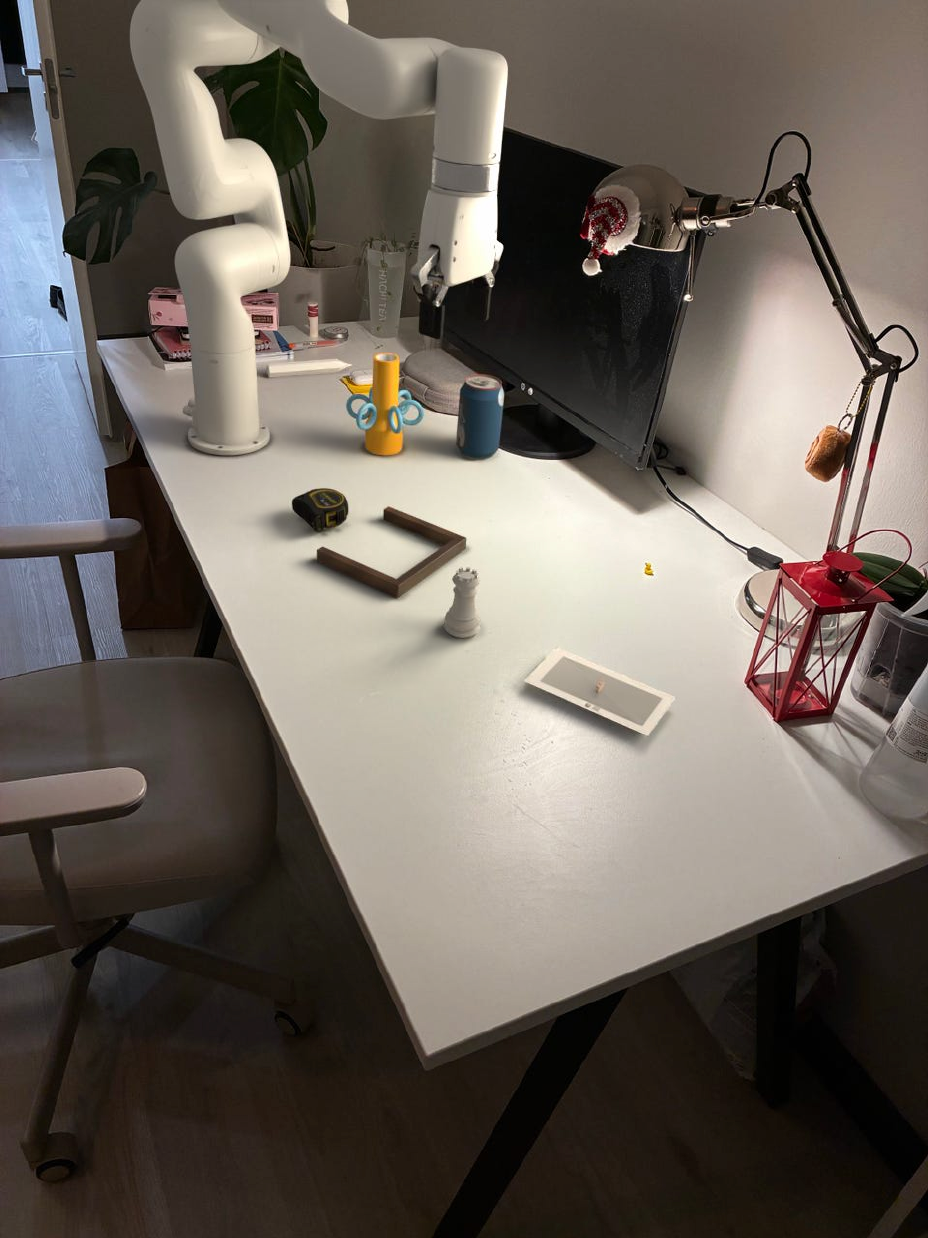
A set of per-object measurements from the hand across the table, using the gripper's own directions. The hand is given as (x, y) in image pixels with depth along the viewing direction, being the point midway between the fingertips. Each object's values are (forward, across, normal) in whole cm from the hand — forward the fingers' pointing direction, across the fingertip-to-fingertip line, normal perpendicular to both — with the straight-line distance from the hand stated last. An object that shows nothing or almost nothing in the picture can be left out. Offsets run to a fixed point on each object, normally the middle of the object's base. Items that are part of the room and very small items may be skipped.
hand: (454, 326), depth 118 cm
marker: (+29, -30, -51) cm, 66 cm away
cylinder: (+29, -15, -22) cm, 39 cm away
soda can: (+29, -24, -10) cm, 39 cm away
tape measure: (+29, +10, -13) cm, 33 cm away
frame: (+29, +10, -1) cm, 30 cm away
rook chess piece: (+29, +17, +16) cm, 37 cm away
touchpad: (+29, +18, +35) cm, 49 cm away
